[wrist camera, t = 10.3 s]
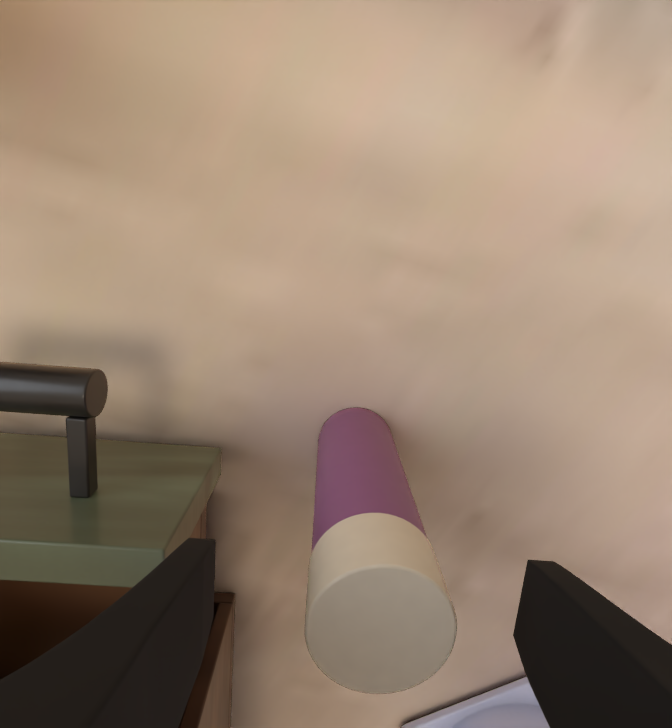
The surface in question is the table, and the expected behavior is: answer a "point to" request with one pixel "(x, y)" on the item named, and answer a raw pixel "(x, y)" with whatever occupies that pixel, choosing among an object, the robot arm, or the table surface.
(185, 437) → the table surface
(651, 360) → the table surface
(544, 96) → the table surface
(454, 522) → the table surface
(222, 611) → the cabinet
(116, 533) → the drawer
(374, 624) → the glue stick
